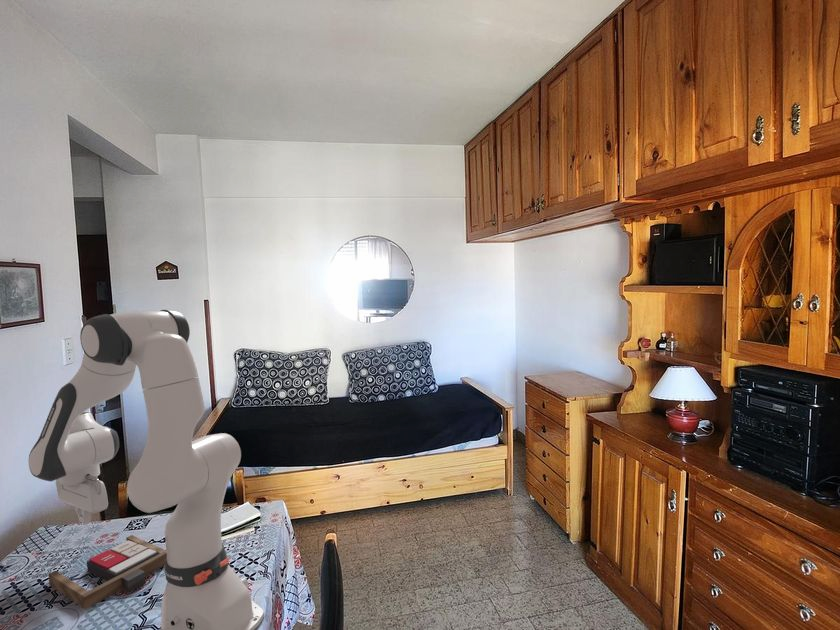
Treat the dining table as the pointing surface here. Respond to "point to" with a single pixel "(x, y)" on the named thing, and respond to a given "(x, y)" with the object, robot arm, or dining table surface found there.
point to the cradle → (122, 581)
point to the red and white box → (119, 560)
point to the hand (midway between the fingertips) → (85, 521)
